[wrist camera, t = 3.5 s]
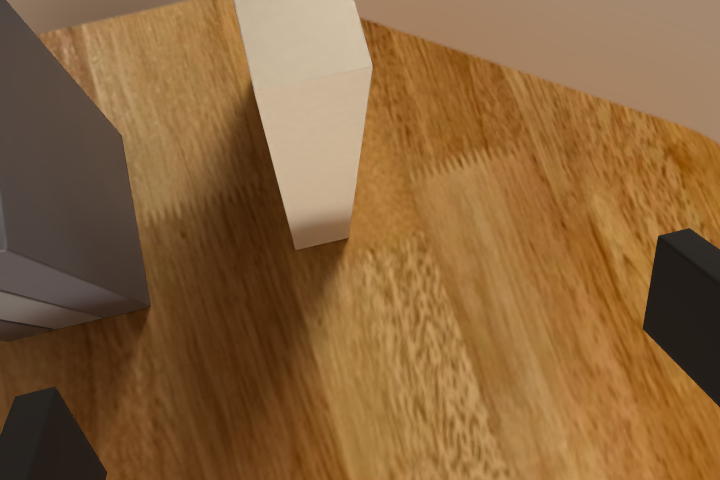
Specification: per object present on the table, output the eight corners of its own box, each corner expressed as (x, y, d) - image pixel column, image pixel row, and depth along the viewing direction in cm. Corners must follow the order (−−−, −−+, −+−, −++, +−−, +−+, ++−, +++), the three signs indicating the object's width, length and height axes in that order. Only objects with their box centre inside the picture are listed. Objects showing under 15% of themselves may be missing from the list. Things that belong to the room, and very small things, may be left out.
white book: (304, 62, 34) (279, -271, 17) (348, 238, 32) (373, 67, 14) (254, 71, 34) (174, -257, 16) (295, 250, 31) (253, 91, 14)
